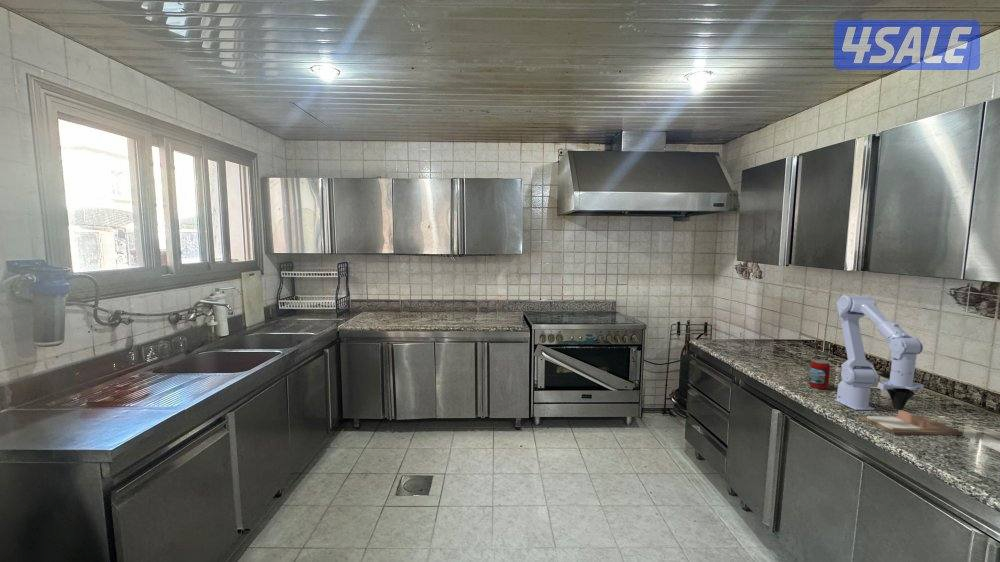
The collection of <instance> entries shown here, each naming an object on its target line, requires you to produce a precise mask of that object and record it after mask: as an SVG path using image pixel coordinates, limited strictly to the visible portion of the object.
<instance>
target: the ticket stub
mask: <svg viewBox="0 0 1000 562" xmlns="http://www.w3.org/2000/svg"><path fill="white" fill-rule="evenodd" d="M897 413H898V414H897V415H895V416H896V417H897V418H899V419H901V420H904V421H906V422H908V423H911V424H913V425H915V426H917V427H920V428H921V429H922V430H940V428H939V427H936V426H934V425H931V424H929V423H927V420H925V419H923V418H920V417H918V416H919V415H915V414H913V413H910V412H908V411H906V410H904V409H903V410H898V411H897Z"/></svg>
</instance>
